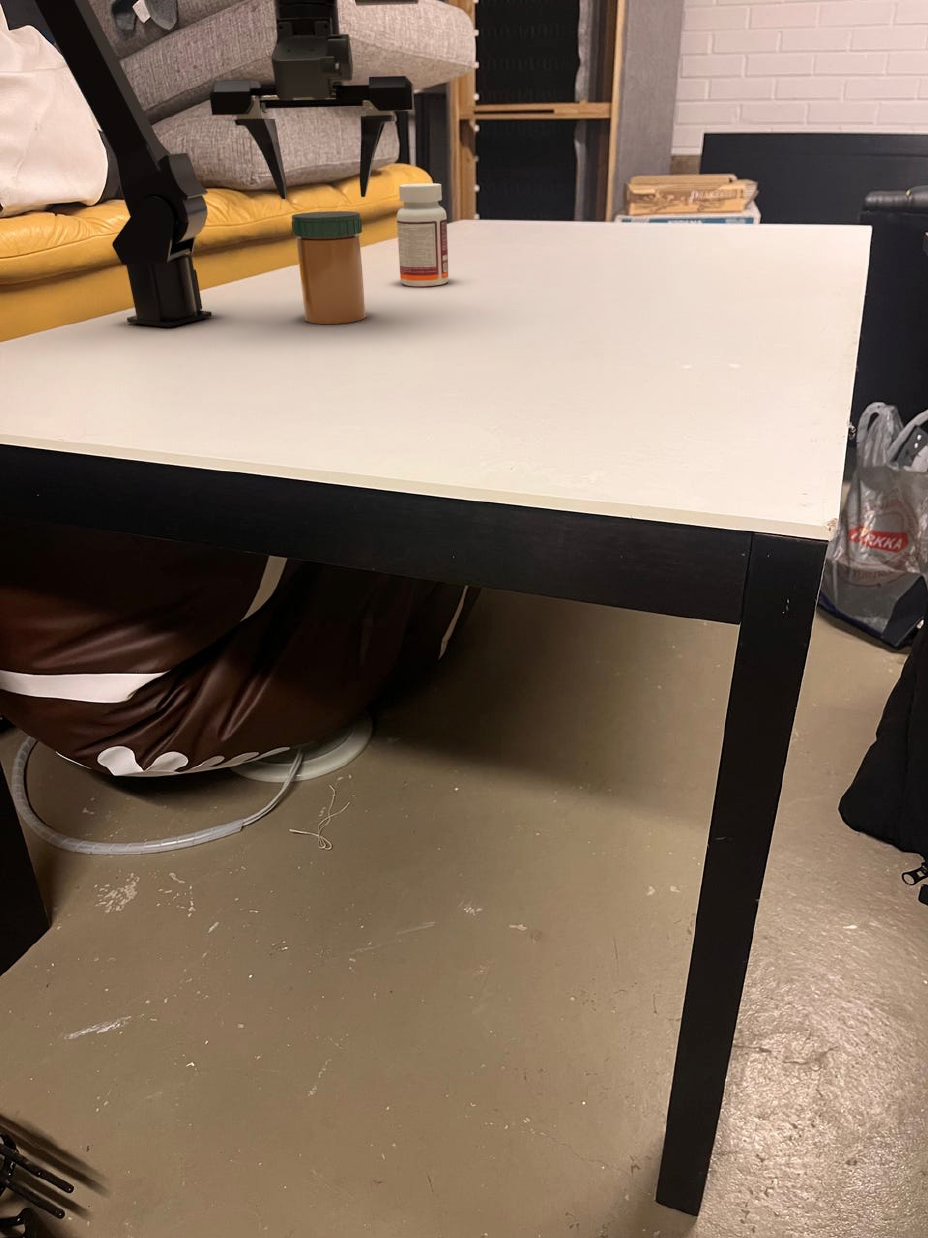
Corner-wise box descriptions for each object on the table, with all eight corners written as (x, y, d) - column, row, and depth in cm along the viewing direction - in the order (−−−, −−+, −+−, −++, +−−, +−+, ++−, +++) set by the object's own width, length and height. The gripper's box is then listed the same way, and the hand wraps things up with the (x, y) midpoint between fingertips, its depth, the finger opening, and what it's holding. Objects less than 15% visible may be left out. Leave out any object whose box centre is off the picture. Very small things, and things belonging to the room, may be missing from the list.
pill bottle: (429, 277, 115) (425, 181, 110) (458, 282, 111) (455, 183, 105) (390, 283, 112) (384, 185, 106) (419, 288, 108) (414, 186, 102)
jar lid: (352, 237, 85) (350, 217, 84) (283, 238, 86) (281, 217, 85) (369, 229, 91) (367, 210, 90) (304, 230, 92) (302, 211, 91)
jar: (341, 326, 89) (332, 224, 84) (292, 321, 92) (281, 222, 87) (377, 314, 94) (370, 217, 89) (330, 310, 97) (321, 216, 92)
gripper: (179, -1, 72) (211, 207, 80) (404, -7, 72) (414, 201, 80) (211, 13, 82) (236, 197, 90) (410, 8, 82) (418, 193, 90)
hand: (323, 197), depth 87 cm, fingers open, 8 cm apart
